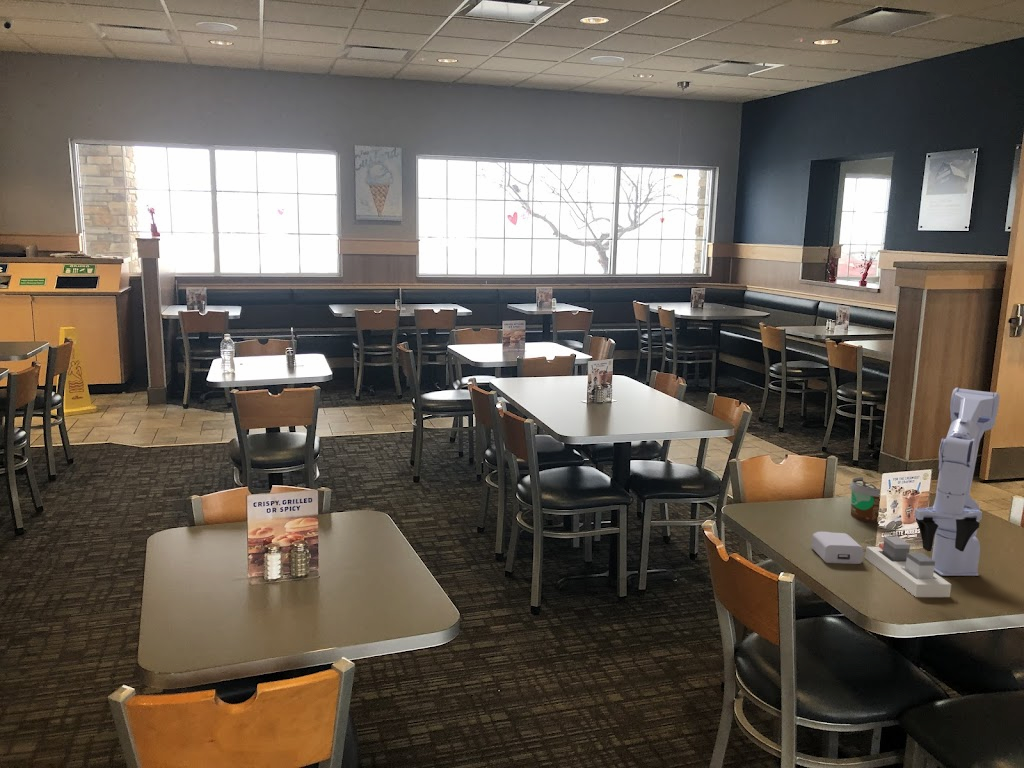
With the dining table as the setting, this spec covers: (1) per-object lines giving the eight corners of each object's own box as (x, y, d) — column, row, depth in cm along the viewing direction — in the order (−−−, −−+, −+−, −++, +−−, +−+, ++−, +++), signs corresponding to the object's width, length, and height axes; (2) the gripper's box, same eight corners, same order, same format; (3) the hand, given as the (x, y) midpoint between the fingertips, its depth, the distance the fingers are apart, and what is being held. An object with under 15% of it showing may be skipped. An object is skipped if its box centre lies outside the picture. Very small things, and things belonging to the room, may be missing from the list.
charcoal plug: (895, 564, 201) (898, 536, 200) (906, 572, 197) (910, 544, 195) (881, 564, 201) (884, 536, 200) (892, 572, 196) (895, 544, 195)
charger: (837, 541, 216) (861, 564, 201) (802, 540, 215) (823, 563, 201) (839, 524, 215) (864, 546, 200) (804, 523, 215) (826, 544, 200)
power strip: (896, 558, 205) (897, 543, 204) (949, 597, 184) (951, 581, 183) (865, 558, 204) (866, 543, 204) (915, 597, 183) (917, 581, 182)
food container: (838, 509, 241) (841, 476, 239) (858, 509, 241) (862, 476, 240) (860, 524, 229) (864, 489, 227) (881, 524, 229) (885, 489, 228)
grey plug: (918, 581, 192) (922, 552, 190) (931, 590, 187) (935, 561, 186) (903, 581, 191) (907, 552, 190) (916, 590, 186) (920, 561, 185)
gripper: (930, 496, 178) (922, 556, 180) (994, 497, 179) (985, 556, 181) (912, 486, 184) (904, 544, 187) (973, 487, 186) (965, 544, 188)
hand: (943, 549), depth 185 cm, fingers open, 7 cm apart
